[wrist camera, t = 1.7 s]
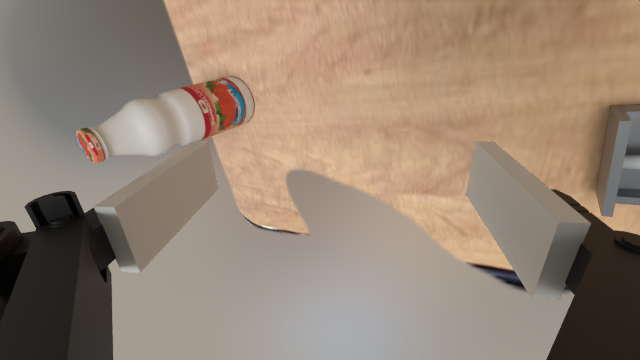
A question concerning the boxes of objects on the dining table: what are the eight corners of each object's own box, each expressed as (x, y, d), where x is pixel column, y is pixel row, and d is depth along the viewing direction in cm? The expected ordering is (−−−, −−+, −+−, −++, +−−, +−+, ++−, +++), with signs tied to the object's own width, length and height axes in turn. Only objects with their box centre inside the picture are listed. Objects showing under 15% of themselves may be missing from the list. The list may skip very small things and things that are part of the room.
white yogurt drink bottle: (216, 83, 63) (58, 121, 43) (243, 69, 57) (76, 106, 37) (234, 126, 66) (94, 180, 46) (262, 117, 60) (115, 175, 40)
